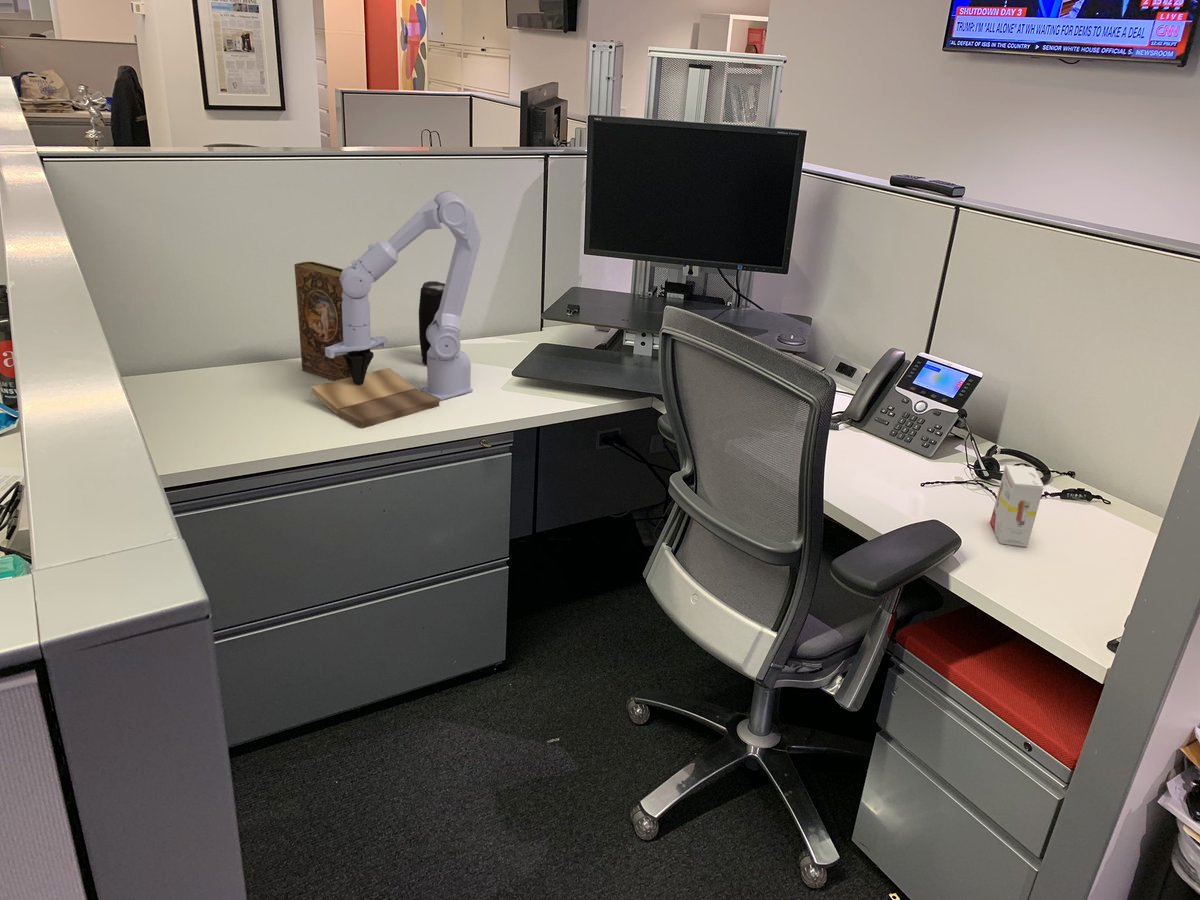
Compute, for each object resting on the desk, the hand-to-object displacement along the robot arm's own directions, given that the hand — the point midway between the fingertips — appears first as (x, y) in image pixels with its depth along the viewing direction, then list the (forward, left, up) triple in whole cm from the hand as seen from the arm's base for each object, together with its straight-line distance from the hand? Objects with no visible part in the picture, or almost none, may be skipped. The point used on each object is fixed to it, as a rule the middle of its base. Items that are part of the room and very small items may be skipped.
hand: (358, 382), depth 200 cm
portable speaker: (-28, -8, -4) cm, 30 cm away
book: (-3, -16, -4) cm, 16 cm away
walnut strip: (0, +11, -3) cm, 12 cm away
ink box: (-49, +125, -4) cm, 135 cm away
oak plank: (0, +2, -2) cm, 3 cm away
